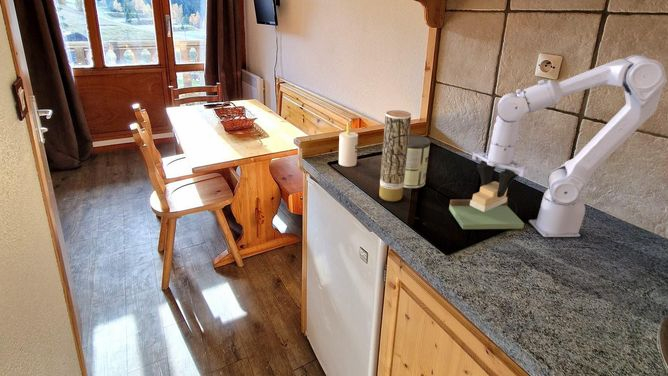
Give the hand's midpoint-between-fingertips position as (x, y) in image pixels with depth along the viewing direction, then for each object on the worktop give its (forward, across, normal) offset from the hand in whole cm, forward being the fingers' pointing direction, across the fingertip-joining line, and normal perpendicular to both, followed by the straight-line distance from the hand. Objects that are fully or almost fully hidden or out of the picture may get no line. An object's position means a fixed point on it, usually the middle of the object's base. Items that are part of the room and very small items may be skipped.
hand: (492, 192), depth 106 cm
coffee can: (+8, -28, -1) cm, 29 cm away
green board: (+7, 0, -1) cm, 7 cm away
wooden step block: (+3, 0, -1) cm, 3 cm away
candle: (+8, -52, -7) cm, 53 cm away
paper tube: (+8, -24, -13) cm, 28 cm away
